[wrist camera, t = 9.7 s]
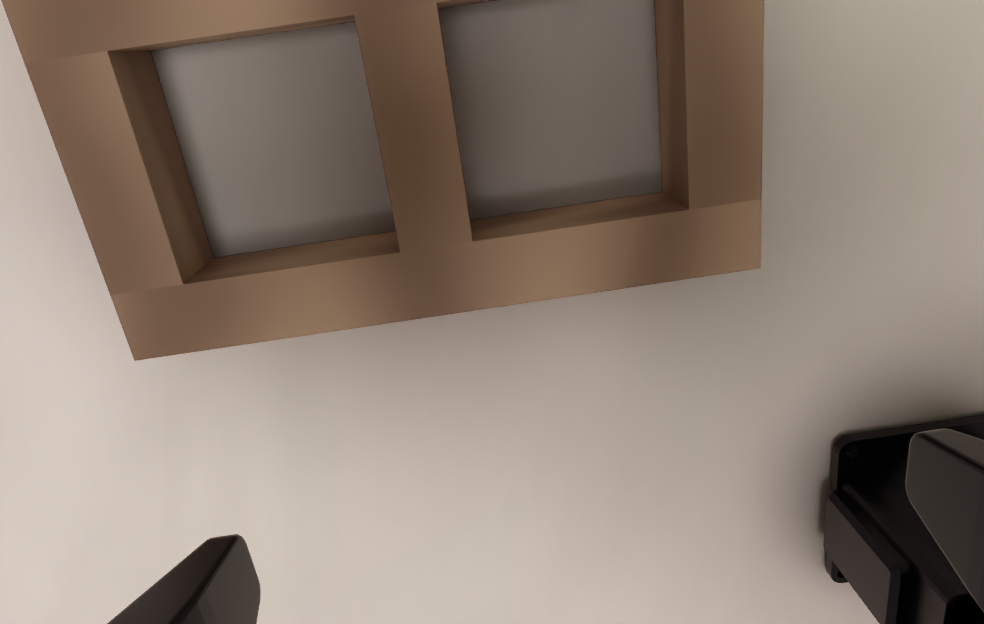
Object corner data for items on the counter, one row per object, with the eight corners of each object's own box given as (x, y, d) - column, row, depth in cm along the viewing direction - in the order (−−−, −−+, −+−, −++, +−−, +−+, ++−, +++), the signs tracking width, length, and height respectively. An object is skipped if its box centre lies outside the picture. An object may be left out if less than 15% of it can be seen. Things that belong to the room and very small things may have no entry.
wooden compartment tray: (724, -118, 18) (766, -143, 15) (726, 244, 21) (760, 268, 19) (50, -19, 18) (-10, -29, 15) (169, 326, 21) (134, 360, 19)
